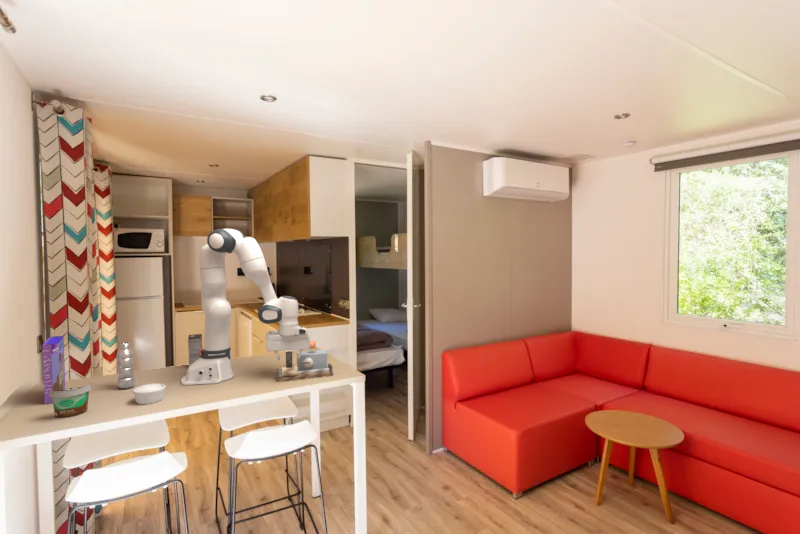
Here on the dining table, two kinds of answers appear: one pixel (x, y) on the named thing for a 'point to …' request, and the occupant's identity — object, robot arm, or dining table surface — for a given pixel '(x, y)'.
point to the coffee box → (194, 347)
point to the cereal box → (53, 366)
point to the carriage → (289, 366)
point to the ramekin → (149, 393)
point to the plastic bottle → (125, 366)
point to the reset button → (312, 344)
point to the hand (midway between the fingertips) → (288, 359)
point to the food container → (70, 401)
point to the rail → (305, 374)
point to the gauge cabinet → (312, 360)
